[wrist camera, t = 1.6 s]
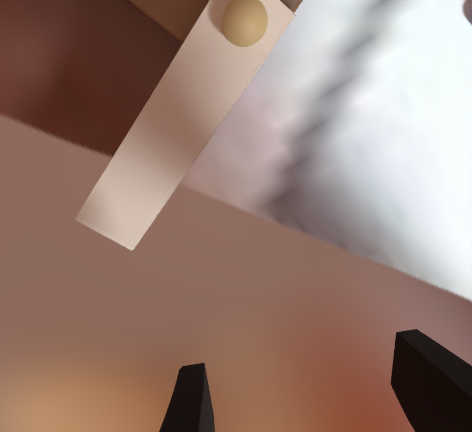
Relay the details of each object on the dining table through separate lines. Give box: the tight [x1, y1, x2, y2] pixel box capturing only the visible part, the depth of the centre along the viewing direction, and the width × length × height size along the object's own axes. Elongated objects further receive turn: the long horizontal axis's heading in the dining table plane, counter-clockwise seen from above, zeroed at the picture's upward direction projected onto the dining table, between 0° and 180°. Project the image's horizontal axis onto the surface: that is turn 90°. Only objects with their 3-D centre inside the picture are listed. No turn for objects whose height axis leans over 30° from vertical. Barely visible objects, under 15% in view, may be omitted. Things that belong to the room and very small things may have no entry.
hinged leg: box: [75, 0, 296, 251], centre depth 13 cm, size 10×2×3 cm, turn 143°
